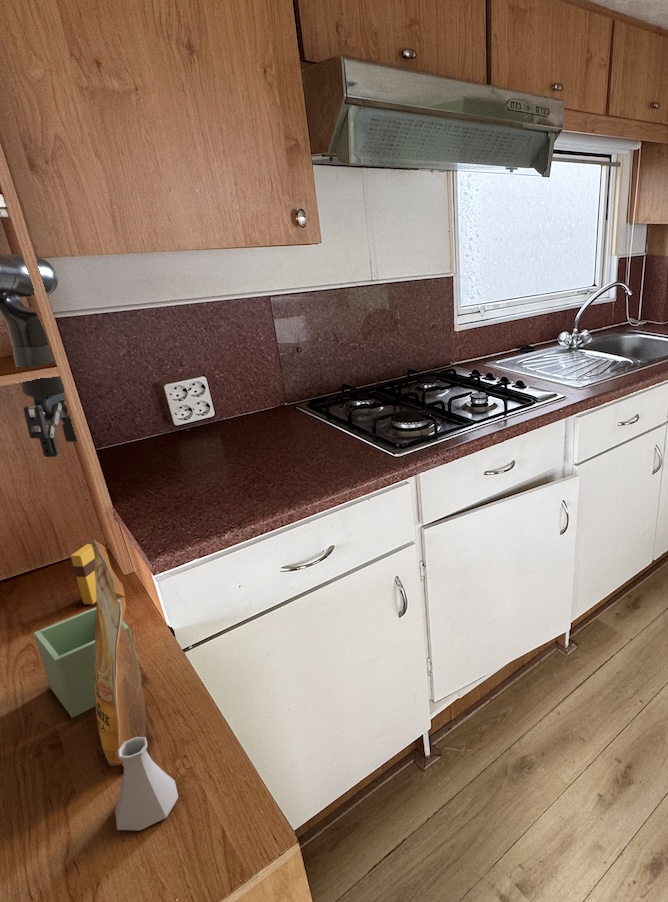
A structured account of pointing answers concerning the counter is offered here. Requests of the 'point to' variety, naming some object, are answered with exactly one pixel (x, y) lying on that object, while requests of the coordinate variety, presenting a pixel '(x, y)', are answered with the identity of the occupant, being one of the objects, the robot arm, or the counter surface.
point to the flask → (142, 788)
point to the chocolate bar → (85, 573)
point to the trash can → (72, 660)
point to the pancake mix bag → (114, 665)
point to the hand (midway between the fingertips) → (62, 448)
